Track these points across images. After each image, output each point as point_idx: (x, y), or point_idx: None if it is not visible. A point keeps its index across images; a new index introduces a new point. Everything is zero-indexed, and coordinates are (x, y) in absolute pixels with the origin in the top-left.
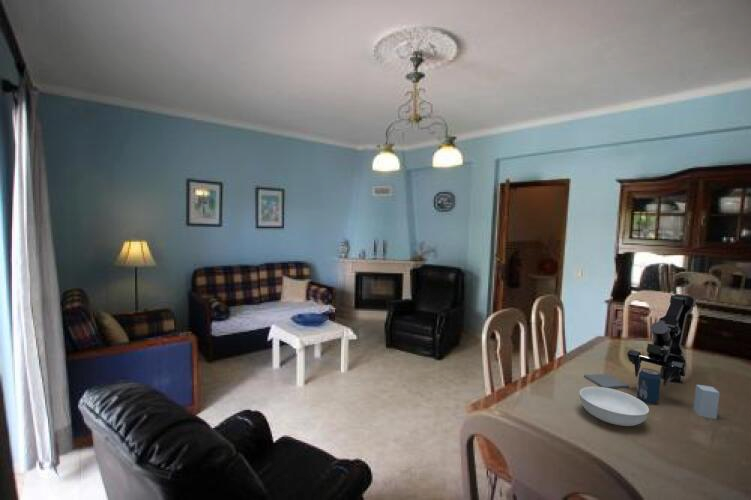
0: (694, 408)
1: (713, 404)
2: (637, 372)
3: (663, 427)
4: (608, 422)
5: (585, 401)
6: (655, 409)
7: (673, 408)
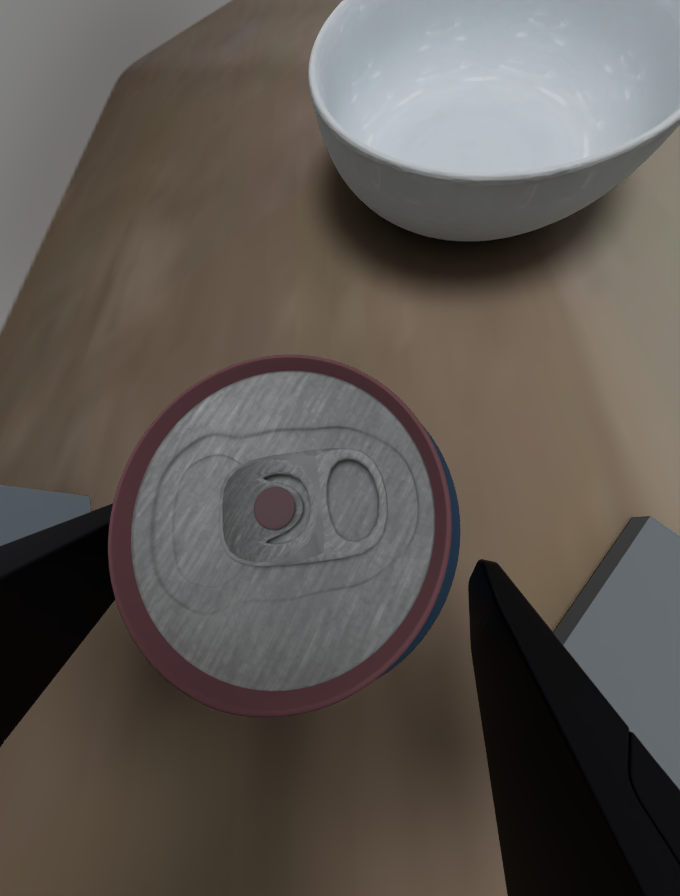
0: None
1: None
2: (493, 614)
3: (267, 245)
4: (457, 80)
5: None
6: None
7: None
